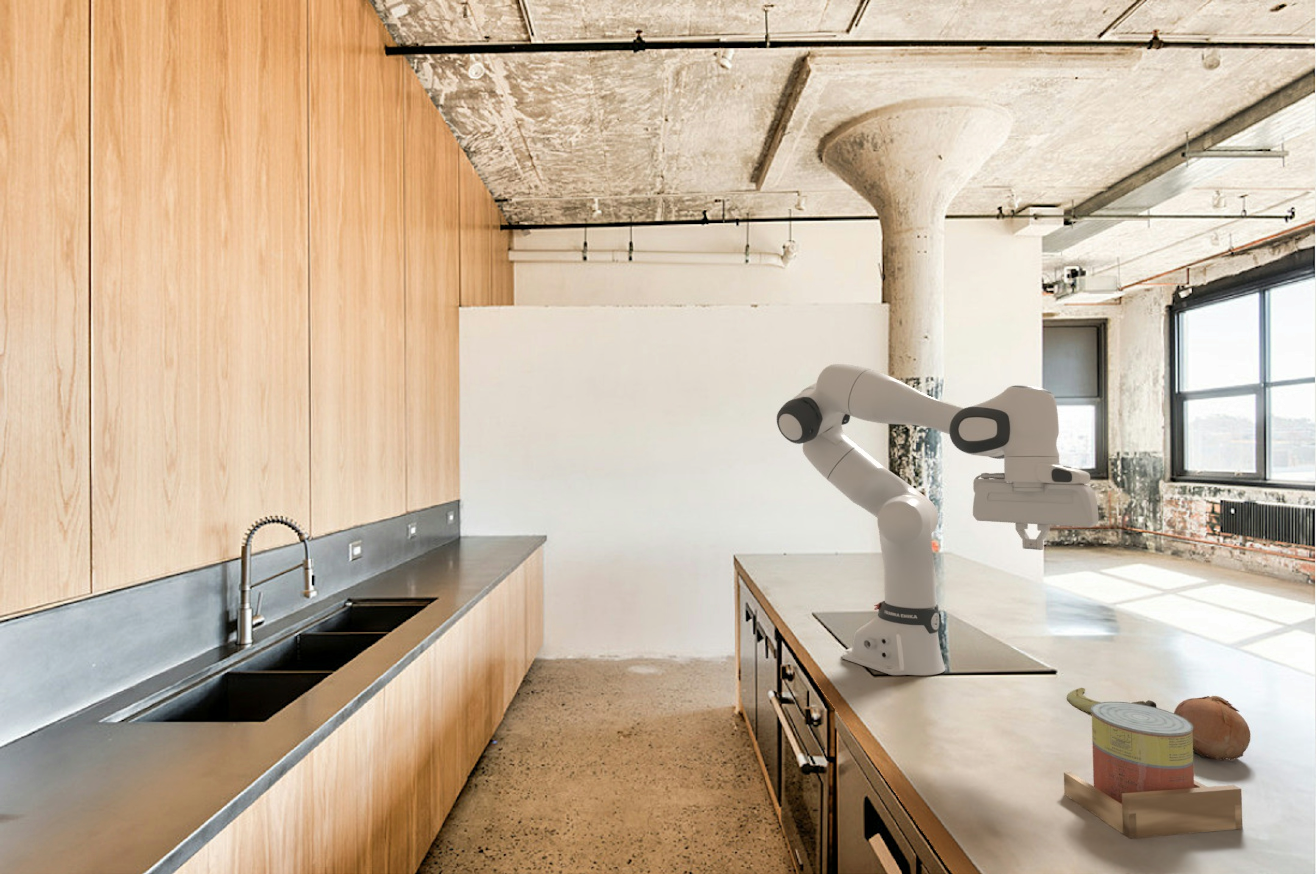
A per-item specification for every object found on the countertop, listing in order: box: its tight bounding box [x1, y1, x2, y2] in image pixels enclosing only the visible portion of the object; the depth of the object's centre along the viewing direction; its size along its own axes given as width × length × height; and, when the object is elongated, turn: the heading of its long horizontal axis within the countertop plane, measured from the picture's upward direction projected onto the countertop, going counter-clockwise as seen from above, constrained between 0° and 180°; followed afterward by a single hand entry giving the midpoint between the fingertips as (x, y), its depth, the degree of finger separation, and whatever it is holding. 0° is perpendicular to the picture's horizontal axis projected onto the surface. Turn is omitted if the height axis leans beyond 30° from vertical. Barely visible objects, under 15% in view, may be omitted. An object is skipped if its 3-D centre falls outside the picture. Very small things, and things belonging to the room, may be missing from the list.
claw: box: [1066, 687, 1158, 715], centre depth 123 cm, size 20×10×3 cm, turn 20°
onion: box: [1173, 695, 1251, 762], centre depth 105 cm, size 10×9×10 cm
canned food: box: [1091, 701, 1195, 804], centre depth 90 cm, size 11×11×12 cm
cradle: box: [1063, 771, 1244, 839], centre depth 89 cm, size 11×16×5 cm
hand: (1032, 549), depth 120 cm, fingers closed
